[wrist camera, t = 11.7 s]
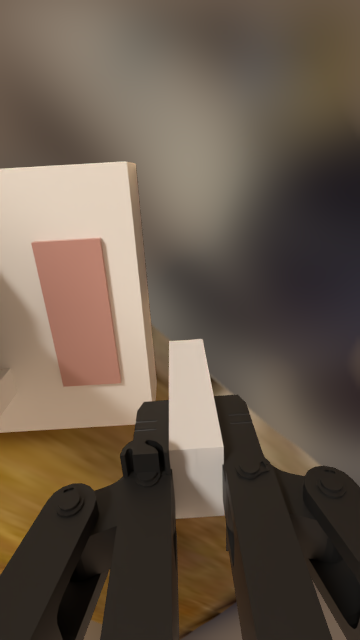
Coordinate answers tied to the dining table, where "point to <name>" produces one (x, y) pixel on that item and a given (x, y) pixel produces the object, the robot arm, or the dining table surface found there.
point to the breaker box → (73, 298)
